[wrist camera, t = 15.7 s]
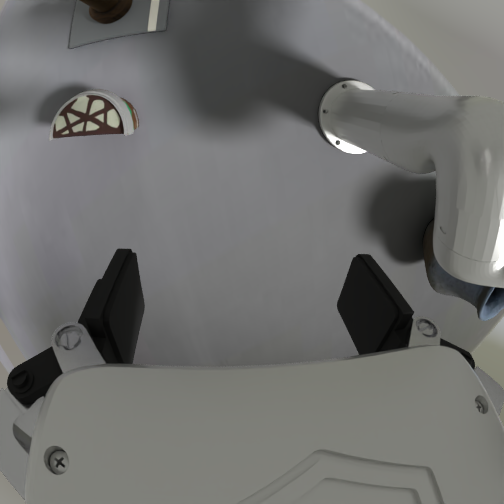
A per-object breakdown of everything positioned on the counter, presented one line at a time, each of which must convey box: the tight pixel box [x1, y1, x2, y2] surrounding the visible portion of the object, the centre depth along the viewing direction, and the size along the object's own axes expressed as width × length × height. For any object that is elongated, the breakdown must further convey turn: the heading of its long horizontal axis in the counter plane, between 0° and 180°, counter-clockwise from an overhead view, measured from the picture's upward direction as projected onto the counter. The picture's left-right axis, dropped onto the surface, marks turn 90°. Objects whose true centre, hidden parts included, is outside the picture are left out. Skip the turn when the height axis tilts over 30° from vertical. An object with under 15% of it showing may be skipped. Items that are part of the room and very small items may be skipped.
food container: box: [49, 89, 139, 141], centre depth 29 cm, size 12×6×10 cm, turn 82°
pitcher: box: [423, 218, 504, 321], centre depth 43 cm, size 21×22×25 cm
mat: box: [69, 0, 170, 49], centre depth 23 cm, size 16×12×1 cm
